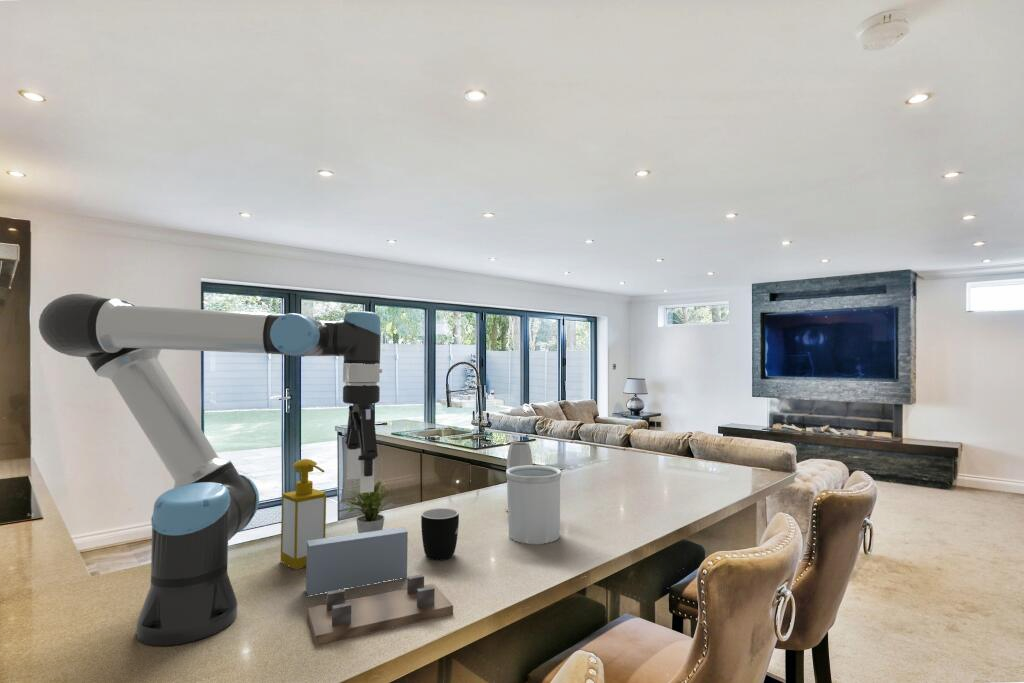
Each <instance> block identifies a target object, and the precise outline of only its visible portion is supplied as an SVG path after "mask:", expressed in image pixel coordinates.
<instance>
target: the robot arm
mask: <svg viewBox="0 0 1024 683" xmlns="http://www.w3.org/2000/svg"><path fill="white" fill-rule="evenodd" d="M39 315H40V316H39V319H38V330H39V333H40V336H41V337H42V340H44V342H45V343H46V345H48V346H49V347H50V348H52V349H53V350H54V351H56V352H58V353H60V354H63V355H66V356H70V357H78V358H86V360H87V362H88V363H89V365H90V366H91V367H92V369H93V370H94V371H93V372H95V374H96V376H97V377H102V378H106V379H109V380H111V382H112V383H113V385H114V387H115V389H116V390H117V391H118V393H119V395H120V396H121V398H122V399H123V401H124V403H125V404H126V406H127V408H128V409H129V410H130V413H131V414H132V415H133V417H134V418H135V420H136V421H137V423H138V425H139V427H140V428H141V430H142V432H143V433H144V435H145V436H146V438H147V440H148V441H149V443H150V444H151V445H152V447H153V449H154V450H155V452H156V454H157V455H158V458H159V459H160V460H161V462H162V463H163V465H164V466H165V468H166V470H167V471H168V473H169V474H170V476H171V478H172V479H173V481H174V486H173V488H171V489H169V490H166V491H164V492H163V493H162V494H160V495H159V496H158V497H157V498H156V500H155V501H154V504H153V508H152V510H153V511H152V515H151V518H150V522H151V552H150V554H151V555H150V556H151V560H150V561H151V562H150V563H151V564H150V585H149V586H150V587H149V590H148V591H147V592H148V593H147V594H146V596H145V600H144V603H143V605H142V607H141V610H140V612H139V616H138V619H137V621H136V633H135V634H136V635H137V636H136V639H137V638H138V639H139V640H140V641H141V642H140V641H139V640H138V639H137V640H138V641H139V642H140V643H142V642H143V643H142V644H145V645H149V646H161V647H163V646H164V647H165V646H173V645H182V644H186V643H191V642H195V641H200V640H201V639H204V638H207V637H209V636H212V635H214V634H216V633H219V632H221V631H222V630H224V629H226V628H227V627H228V626H230V625H231V624H232V623H233V622H234V621H235V620H236V618H237V616H238V600H237V597H236V594H235V592H234V587H233V585H232V582H231V580H230V576H229V573H228V563H229V562H228V560H229V559H228V558H229V557H228V556H229V541H230V540H231V539H232V538H233V537H234V536H235V535H236V534H238V533H240V531H243V530H244V529H245V528H246V527H247V526H248V525H249V524H250V522H251V521H252V519H253V518H254V517H255V515H256V513H257V511H258V508H259V503H260V493H259V490H258V488H257V486H256V484H255V483H254V481H253V480H252V479H251V478H249V477H248V476H247V475H244V474H241V473H239V471H238V470H237V469H236V468H235V466H234V463H232V460H229V459H224V458H221V457H219V456H218V454H217V452H216V451H215V449H214V448H213V446H212V445H211V443H210V441H209V439H208V438H207V436H206V435H205V433H204V432H203V430H202V429H201V426H199V423H198V422H197V421H196V419H195V417H194V416H193V414H192V412H191V411H190V409H189V408H188V406H187V404H186V403H185V400H183V398H182V396H181V394H180V392H179V391H178V390H177V387H175V385H174V384H173V382H172V380H171V378H170V377H169V375H168V373H167V371H166V370H165V369H164V367H163V365H162V364H161V362H160V360H159V356H160V353H161V350H170V351H171V350H173V351H192V352H193V351H195V352H196V351H197V352H198V351H199V352H218V353H219V352H220V353H221V352H222V353H245V354H266V355H267V354H269V355H270V354H271V355H284V356H285V355H286V356H293V357H295V356H296V357H302V358H303V357H304V358H305V357H343V364H342V366H343V367H342V382H343V383H345V385H344V386H343V387H342V402H343V403H344V404H348V405H349V406H348V419H347V427H346V428H347V429H346V438H345V440H344V441H345V445H346V448H347V452H346V453H347V454H346V455H347V456H346V458H347V460H346V463H347V464H346V465H347V466H346V480H359V484H360V487H359V493H360V494H362V493H367V492H368V493H370V492H374V487H375V484H374V480H375V461H376V460H375V459H376V458H378V457H379V456H378V455H379V453H378V445H377V444H378V443H377V435H376V422H375V412H376V411H375V408H371V407H370V405H371V404H377V403H379V402H380V395H381V394H380V391H381V389H380V388H381V386H379V385H378V384H377V383H380V375H381V373H383V369H382V368H380V367H381V344H382V342H381V341H382V339H381V337H382V334H381V317H380V315H379V314H378V313H376V312H373V311H361V310H359V311H358V310H356V311H355V310H354V311H352V310H351V311H346V312H345V314H344V316H343V317H344V318H343V320H336V321H335V320H316V319H314V318H311V317H310V316H308V315H305V314H303V313H297V312H295V313H294V312H289V313H285V314H282V313H268V312H254V311H253V312H252V311H251V312H250V311H249V312H248V311H235V310H234V311H232V310H214V309H212V310H211V309H196V308H182V307H181V308H178V307H177V308H176V307H161V306H160V307H159V306H144V305H143V306H142V305H136V304H134V303H132V302H130V301H125V300H122V299H118V298H106V297H101V296H97V295H94V294H93V295H92V294H87V293H71V294H66V295H62V296H60V297H59V296H58V297H57V298H55V299H53V300H52V301H51V302H49V303H48V304H46V306H45V307H44V308H43V309H42V311H41V313H40V314H39Z"/></svg>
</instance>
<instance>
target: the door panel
mask: <svg viewBox="0 0 1024 683" xmlns="http://www.w3.org/2000/svg"><path fill="white" fill-rule="evenodd" d="M408 535H409V534H408V531H407V529H406V528H404V526H402V527H401V526H400V527H395V528H394V527H392V528H387V529H382V530H379V531H372V532H365V533H358V532H357V533H352V534H344V535H337V536H331V537H330V536H329V537H325V538H322V539H315V540H308V541H307V564H306V567H305V568H306V569H305V570H306V571H305V574H306V575H305V577H306V578H305V590H307V592H306V595H307V594H308V595H307V597H308V596H310V595H315V594H320V593H325V592H329V591H334V590H339V589H344V588H351V587H357V586H362V585H367V584H374V583H378V582H383V581H388V580H393V579H394V580H395V579H400V578H406V579H407V577H408V542H409V540H408V537H409V536H408ZM400 580H401V579H400ZM395 581H396V580H395ZM374 585H375V584H374ZM320 595H321V594H320ZM315 596H316V595H315ZM310 597H311V596H310Z"/></svg>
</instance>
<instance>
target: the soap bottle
mask: <svg viewBox="0 0 1024 683" xmlns="http://www.w3.org/2000/svg"><path fill="white" fill-rule="evenodd" d="M317 464H318V463H317V462H316V461H314V460H312V459H310V458H302V459H299V460H297V461H296V462H294V463H293V464H292V465H291V466H292V467H293V468H295V473H298V474H299V473H300V481H299V480H298V481H297V482H295V490H294V491H293V490H292V491H289V492H282V493H281V495H282V496H281V522H280V523H281V524H280V526H281V528H280V562H281V561H282V562H284V563H285V564H284V563H283V564H284V565H286V564H287V565H286V566H288V565H289V566H290V568H291V567H292V568H291V569H293V568H294V569H295V570H297V568H299V569H301V568H300V567H302V568H304V567H303V566H306V564H307V541H308V540H315V539H322V538H326V530H327V529H326V528H327V527H326V524H327V523H326V522H327V520H326V519H327V517H326V515H327V514H326V513H327V493H326V492H324V491H321V490H318V489H316V488H313V484H314V483H313V480H309V473H312V472H313V471H314V468H316V469H317V470H318V471H320V472H321V473H325V470H324V469H323V468H321V467H320V466H318V465H317ZM282 562H281V563H282ZM289 566H288V567H289ZM294 569H293V570H294Z"/></svg>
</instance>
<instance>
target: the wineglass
mask: <svg viewBox="0 0 1024 683" xmlns="http://www.w3.org/2000/svg"><path fill="white" fill-rule="evenodd" d="M530 446H531V445H530V443H528V442H523V441H522V442H521V441H519V442H518V441H514V442H511V443H509V447H508V451H507V456H506V457H507V458H506V470H507V469H509V468H512V467H517V466H525V465H533V458H532V450H531V447H530ZM506 510H507V511H508V506H506V507H505V511H506ZM507 511H506V512H507Z"/></svg>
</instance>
